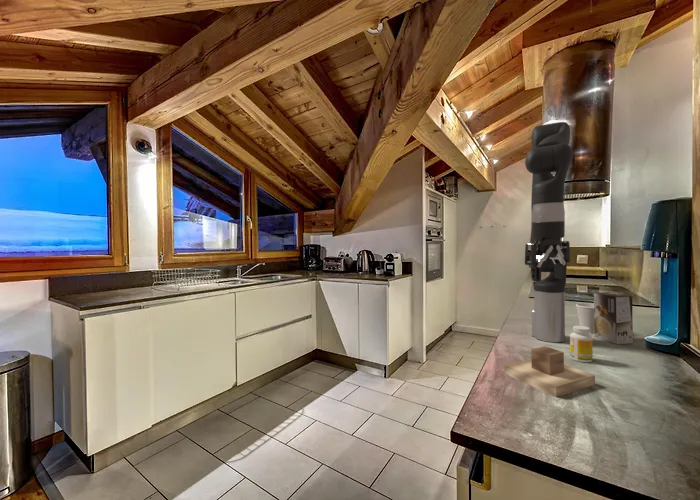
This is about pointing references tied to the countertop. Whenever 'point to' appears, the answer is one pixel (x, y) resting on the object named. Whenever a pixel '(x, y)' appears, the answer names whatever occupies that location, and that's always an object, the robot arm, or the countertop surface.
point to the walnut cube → (547, 360)
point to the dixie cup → (586, 315)
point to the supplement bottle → (581, 344)
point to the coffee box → (613, 317)
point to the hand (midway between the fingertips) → (547, 279)
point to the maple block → (550, 378)
